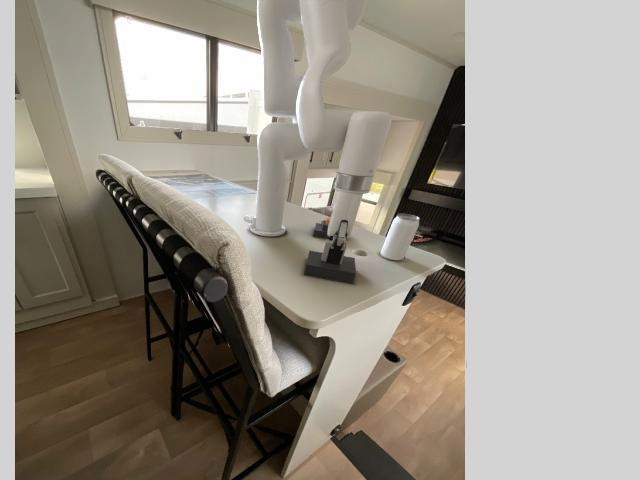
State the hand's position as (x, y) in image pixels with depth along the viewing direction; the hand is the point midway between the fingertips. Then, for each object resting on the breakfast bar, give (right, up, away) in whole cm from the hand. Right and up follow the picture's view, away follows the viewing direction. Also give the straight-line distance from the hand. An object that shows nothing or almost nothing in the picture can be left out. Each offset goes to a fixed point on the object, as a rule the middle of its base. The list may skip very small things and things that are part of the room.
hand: (332, 255), depth 64 cm
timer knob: (0, -1, +1) cm, 1 cm away
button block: (+7, +12, +25) cm, 28 cm away
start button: (+8, +15, +23) cm, 28 cm away
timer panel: (0, -4, +3) cm, 5 cm away
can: (+22, +2, +12) cm, 25 cm away
